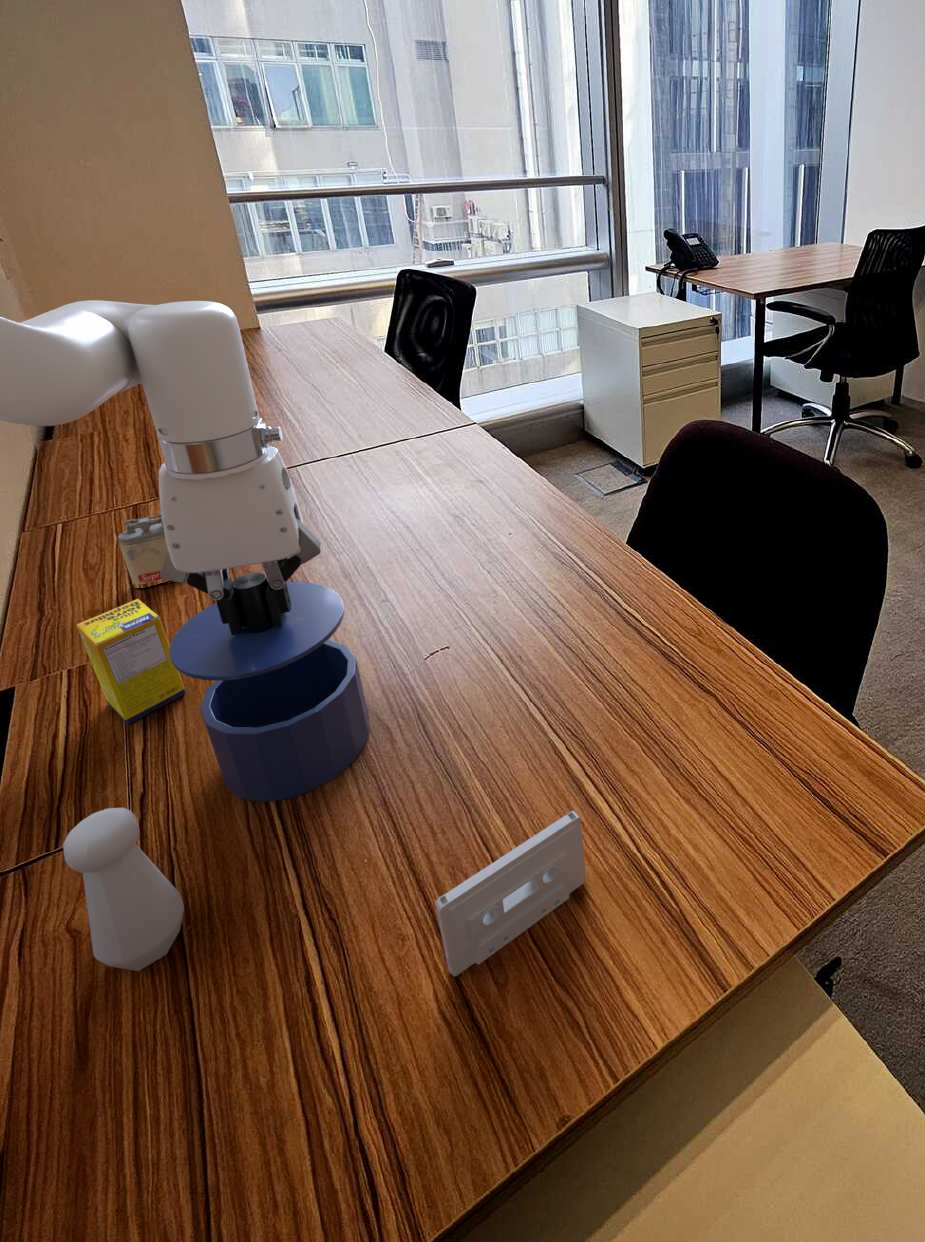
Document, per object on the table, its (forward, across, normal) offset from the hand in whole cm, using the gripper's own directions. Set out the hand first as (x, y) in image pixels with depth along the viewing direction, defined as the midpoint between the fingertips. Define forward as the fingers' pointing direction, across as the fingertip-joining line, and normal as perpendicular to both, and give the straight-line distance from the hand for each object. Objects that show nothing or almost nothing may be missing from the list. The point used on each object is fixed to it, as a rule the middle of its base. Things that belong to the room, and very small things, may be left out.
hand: (259, 620), depth 71 cm
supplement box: (+16, +16, -14) cm, 27 cm away
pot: (+16, -1, 0) cm, 16 cm away
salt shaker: (+16, +8, +18) cm, 26 cm away
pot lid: (+1, 0, 0) cm, 1 cm away
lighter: (+17, +21, -42) cm, 50 cm away
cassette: (+16, -20, +27) cm, 37 cm away
